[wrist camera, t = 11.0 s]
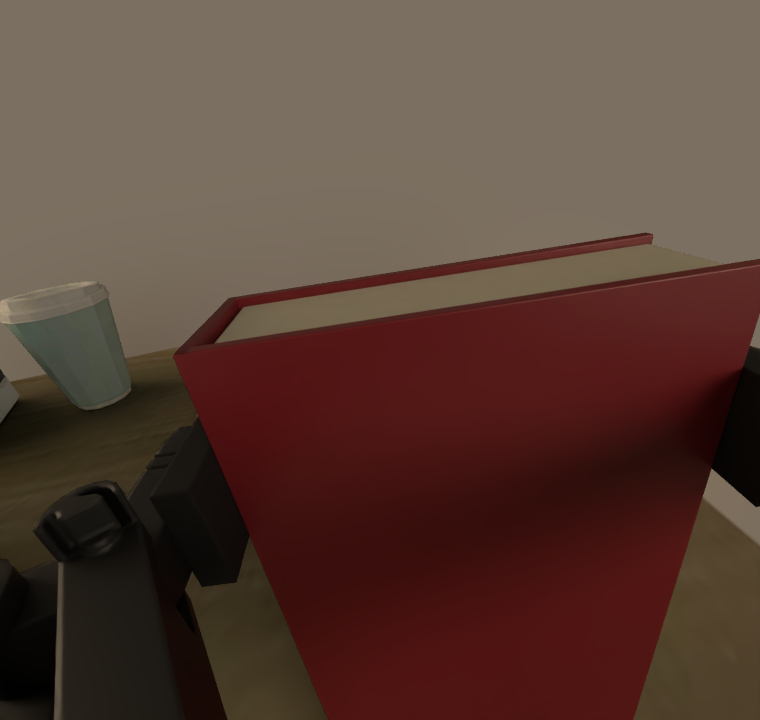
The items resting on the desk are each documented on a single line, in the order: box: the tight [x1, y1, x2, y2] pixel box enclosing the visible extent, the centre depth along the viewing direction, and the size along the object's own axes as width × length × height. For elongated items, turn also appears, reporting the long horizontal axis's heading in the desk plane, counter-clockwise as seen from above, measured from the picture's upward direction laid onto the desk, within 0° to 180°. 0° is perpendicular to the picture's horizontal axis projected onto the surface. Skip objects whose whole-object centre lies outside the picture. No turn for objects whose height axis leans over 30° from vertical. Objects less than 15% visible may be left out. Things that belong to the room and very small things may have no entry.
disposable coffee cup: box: [0, 281, 131, 410], centre depth 48 cm, size 11×11×15 cm
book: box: [173, 233, 760, 720], centre depth 13 cm, size 20×11×4 cm
